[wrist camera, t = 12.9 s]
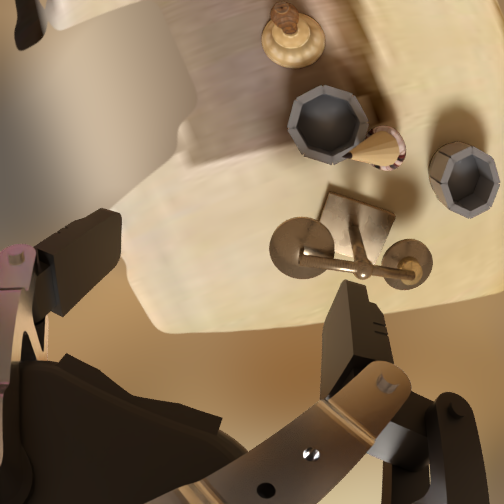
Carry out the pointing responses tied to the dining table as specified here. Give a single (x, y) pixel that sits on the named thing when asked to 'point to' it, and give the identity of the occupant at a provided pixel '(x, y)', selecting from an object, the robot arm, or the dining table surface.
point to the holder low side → (464, 179)
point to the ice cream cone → (380, 149)
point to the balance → (349, 245)
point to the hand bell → (292, 37)
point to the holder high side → (327, 124)
